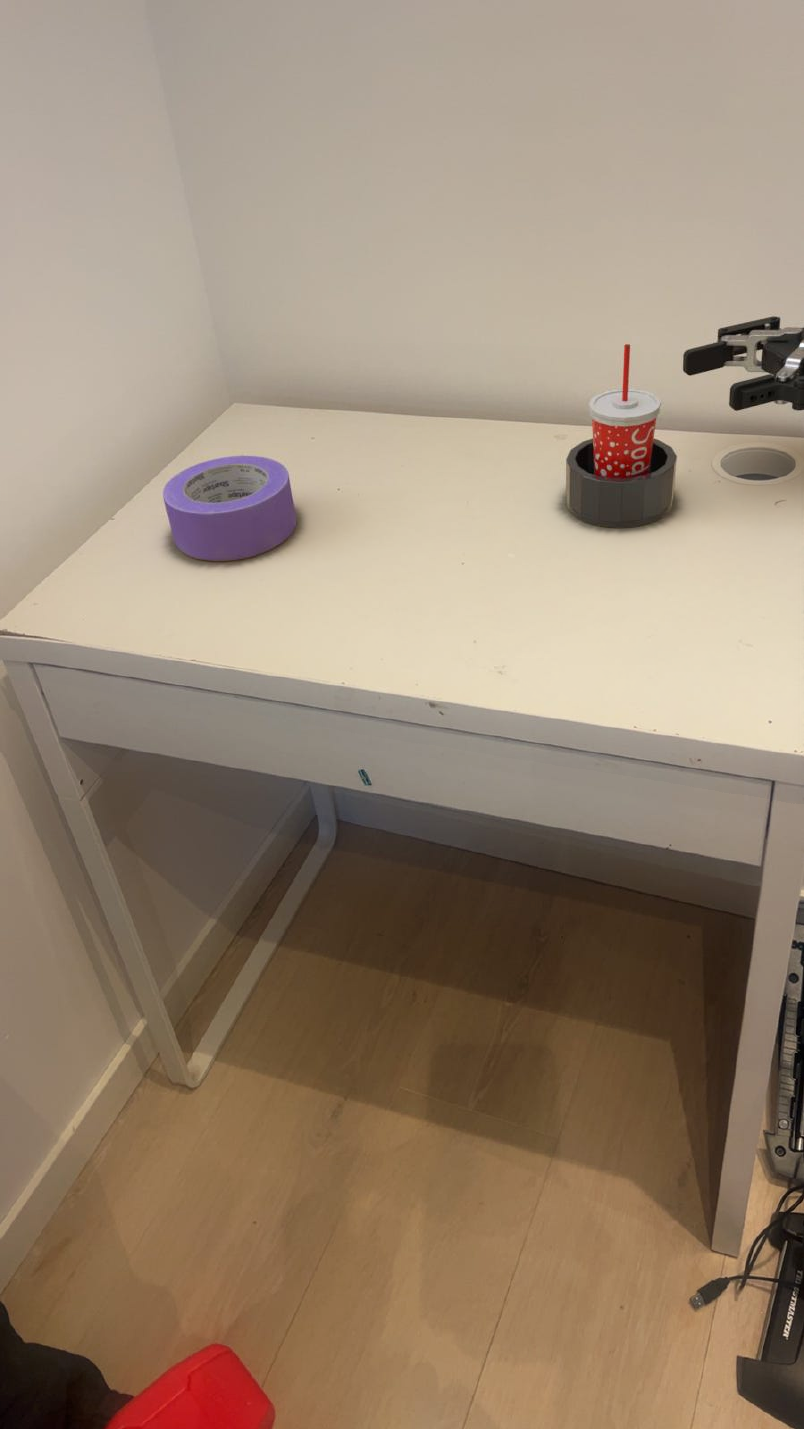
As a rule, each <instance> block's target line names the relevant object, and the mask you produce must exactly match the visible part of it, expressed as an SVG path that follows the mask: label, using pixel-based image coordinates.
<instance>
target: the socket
mask: <svg viewBox="0 0 804 1429" xmlns="http://www.w3.org/2000/svg"><path fill="white" fill-rule="evenodd" d="M677 462H678V456H677V454H676V452H675V450H674V449H673V447H672V446H670V445H668V444H667V443H665V442H663V441H661V440H660V439H657V438H654V440H653V447H652V455H651V463H650V471H649V474H646V475H643V476H640V477H632V478H623V479H622V478H607V477H600V476H597V475H594V450H593V438H590V439H587V440H584V441H581V442H580V443H578V444H577V445H575V446H573V447H572V448H571V449H570V451H569V453H568V454H567V457H566V459H565V498H566V506H567V509H568V511H569V513H570V514H571V515H573V516H574V517H575V518H576V519H577V520H580V521H582V522H584V523H587V524H589V525H593V526H598V527H603V528H611V529H612V528H613V529H621V528H622V529H625V528H626V529H627V528H635V527H640V526H641V527H642V526H645V525H649V524H651V523H654V522H656V521H659V520H660V519H662V518H663V517H665V516H666V515H667V514H668V513H669V512H670V511H671V509H672V507H673V502H674V496H675V486H676V474H677V473H676V472H677Z"/></svg>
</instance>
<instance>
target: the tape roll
mask: <svg viewBox="0 0 804 1429" xmlns="http://www.w3.org/2000/svg"><path fill="white" fill-rule="evenodd" d="M162 489H163V490H162V499H163V503H164V506H165V511H166V514H167V517H168V522H169V526H170V531H171V534H172V538H173V542H174V545H175V546H176V548H177V549H178V551H180V552H181V553H183V554H184V555H187V556H188V557H191V558H194V559H197V560H202V561H211V562H223V561H225V562H226V561H235V560H237V561H238V560H243V559H247V558H251V557H255V556H257V555H261V554H263V553H265V552H268V551H270V550H272V549H274V548H276V547H278V546H279V545H281V544H282V543H284V542H285V541H286V540H287V539H289V537H291V536H292V534H293V532H294V531H295V529H296V527H297V516H296V510H295V503H294V498H293V491H292V486H291V479H290V475H289V471H288V469H287V468H286V466H285V465H284V464H282V463H281V462H279V461H277V460H274V459H272V458H270V457H269V458H268V457H265V456H258V455H231V456H224V457H219V458H214V459H210V460H206V461H203V462H199V463H196V464H194V465H191V466H189V467H187V468H185V469H183V470H181V471H180V472H178V473H177V474H175V475H174V476H172V477H171V478H170V479H169V480H168V481H167V483H165V485H164V487H163V488H162Z"/></svg>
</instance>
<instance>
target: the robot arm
mask: <svg viewBox="0 0 804 1429" xmlns="http://www.w3.org/2000/svg"><path fill="white" fill-rule="evenodd" d="M780 326H781V317H780V316H775V315H773V316H768V317H764V318H760V319H756V320H750V321H747V322H742V323H737V324H732V325H727V326H724V327H719V328H718V329H717V341H716V342H712V343H708V344H705V345H701V346H697V347H692V348H688V349H686V350H685V351H684V352H683V356H682V357H683V358H682V371H683V373H684V374H686V376H690V377H691V376H695V375H699V374H703V373H707V372H710V371H714V370H718V369H721V368H724V367H741V368H744V370H745V371H746V372H747V373H768V374H765V375H761V376H756V377H754V378H750V379H746V380H742V381H737V382H734V383H733V384H731V386H730V388H729V397H728V406H729V408H731V409H732V410H734V411H736V412H737V411H742V410H746V409H749V408H753V407H757V406H761V405H765V404H770V403H772V402H773V403H774V404H777V405H786V404H788V403H790V404H791V409H792V410H794V411H804V326H803V327H798V326H797V327H796V326H795V327H794V326H793V327H792V326H791V327H789V326H788V327H783V328H781V327H780ZM757 351H758V352H759V351H761V360H758V357H757V353H758V352H757ZM744 354H746V355H745V356H744ZM739 355H741V356H739ZM742 355H743V356H742Z"/></svg>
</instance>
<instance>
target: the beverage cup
mask: <svg viewBox="0 0 804 1429" xmlns="http://www.w3.org/2000/svg"><path fill="white" fill-rule="evenodd" d="M623 348H624V349H623V368H622V369H623V370H622V388H620V389H612V390H607V391H604V392H600V393H598V394H597V395H595V396H593V397H591V399H590V400H589V403H588V408H589V410H588V414H589V416H590V418H591V421H592V426H591V427H592V439H593V450H594V475H597V476H600V477H607V478H622V479H623V478H632V477H640V476H643V475H646V474H649V471H650V463H651V455H652V447H653V440H654V439H655V433H656V432H655V431H656V422H657V418H658V417H659V414H660V413H661V405H662V401H661V399H660V398H659V396H658V395H656V394H654V393H652V392H651V391H646V390H642V389H638V388H637V389H636V388H629V383H630V382H629V379H630V359H631V358H630V357H631V344H629V343H626V344H624V345H623Z"/></svg>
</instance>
